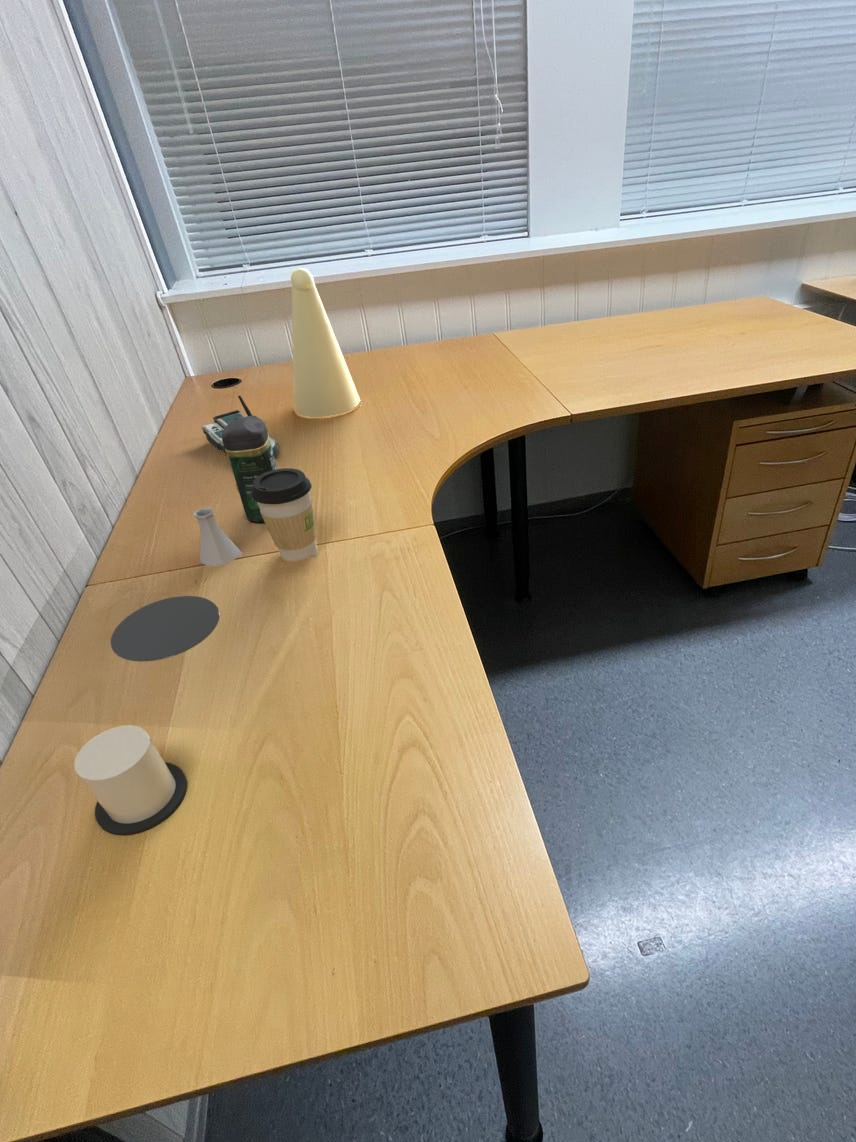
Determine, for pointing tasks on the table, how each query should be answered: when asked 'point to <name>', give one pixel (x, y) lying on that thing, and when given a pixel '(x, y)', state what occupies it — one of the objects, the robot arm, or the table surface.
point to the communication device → (221, 421)
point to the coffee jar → (248, 458)
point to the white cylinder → (125, 774)
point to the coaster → (153, 821)
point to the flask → (214, 540)
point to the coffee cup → (287, 511)
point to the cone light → (317, 355)
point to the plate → (165, 628)
